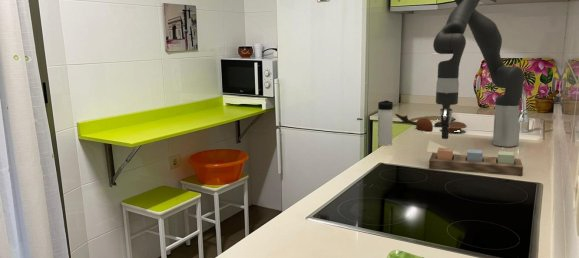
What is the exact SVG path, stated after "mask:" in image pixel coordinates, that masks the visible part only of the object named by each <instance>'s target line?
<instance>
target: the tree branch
mask: <svg viewBox="0 0 579 258" xmlns="http://www.w3.org/2000/svg"><path fill="white" fill-rule="evenodd" d="M394 115H395V116H396V117H397V118H398V119H399V120H401V121H402V122H403V123H404V124H411V125H415V126H416V122H417V121H418V120H419V119H423V118H426V119H429V120H430V121H436V120H437V119H438V120H440V119H441V115H440V116H439V115H431V116H419V117H414V118H410V119H409V118H408V114H405V115H401V114H400V113H395V114H394ZM451 121H455V122H456V121H457V118H455V117H452V116H451ZM434 125H435V126H434V127H441V121H436V122H435V123H434Z"/></svg>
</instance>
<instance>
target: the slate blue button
mask: <svg viewBox="0 0 579 258" xmlns="http://www.w3.org/2000/svg"><path fill="white" fill-rule="evenodd" d="M483 151H484V150H483V149H482V150H481V149H467V151H466V152H467V153H466V155H467V161H473V162H482V157H483V155H484V153H483Z"/></svg>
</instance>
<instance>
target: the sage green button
mask: <svg viewBox="0 0 579 258" xmlns="http://www.w3.org/2000/svg"><path fill="white" fill-rule="evenodd" d="M497 157H498V163H501V164H514V158H515V157H516V156H515V152H514V151H501V150H500V151H497ZM515 159H516V158H515Z"/></svg>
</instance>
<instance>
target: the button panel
mask: <svg viewBox="0 0 579 258" xmlns="http://www.w3.org/2000/svg"><path fill="white" fill-rule="evenodd" d="M428 169H430V170H431V169H432V170H442V171H443V170H445V171H458V172H466V173H467V172H469V173H470V172H471V173H480V174H494V175H508V176H516V177H517V176H519V177H523V174H524V173H523V171H524V166H523V163H522V159H521V158H514V164H501V163H498V156H497V157H496V156H483V157H482V162H473V161H467V154H454V153H453V158H452V160H445V159H437V152H432V154H431V155H430V158H429V160H428Z"/></svg>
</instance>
